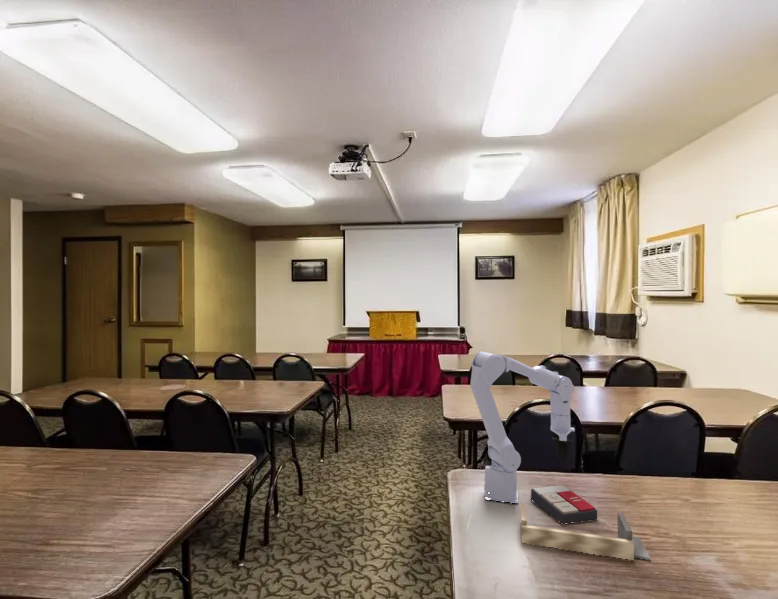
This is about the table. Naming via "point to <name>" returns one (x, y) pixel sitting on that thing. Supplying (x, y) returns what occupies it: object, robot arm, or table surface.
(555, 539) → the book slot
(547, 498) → the calculator
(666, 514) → the table surface
